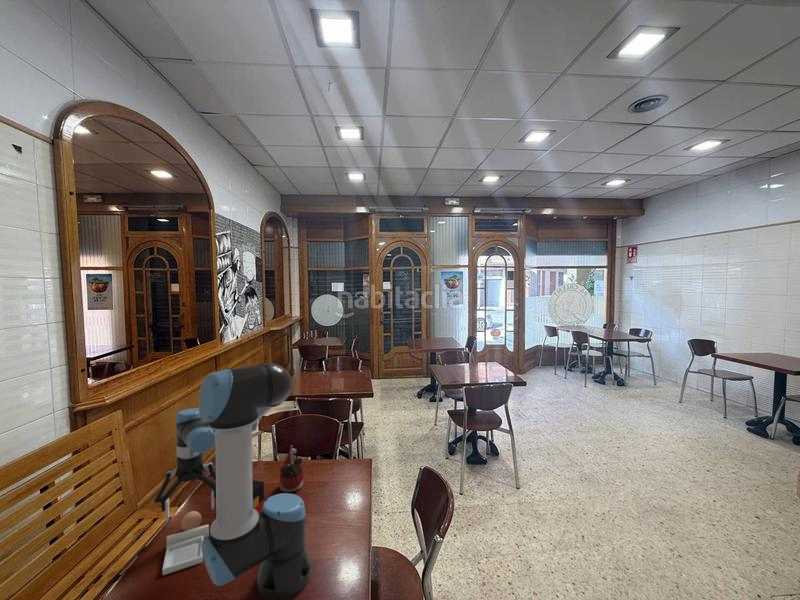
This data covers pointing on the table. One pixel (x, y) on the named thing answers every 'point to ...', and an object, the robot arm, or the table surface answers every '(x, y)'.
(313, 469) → the table surface
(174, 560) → the light gray square tray
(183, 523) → the ball
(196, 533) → the low wall
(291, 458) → the cake
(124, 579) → the table surface
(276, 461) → the table surface
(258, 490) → the puzzle toy
